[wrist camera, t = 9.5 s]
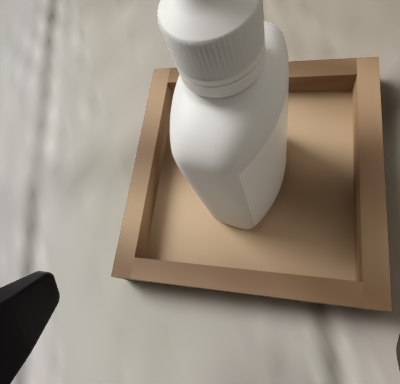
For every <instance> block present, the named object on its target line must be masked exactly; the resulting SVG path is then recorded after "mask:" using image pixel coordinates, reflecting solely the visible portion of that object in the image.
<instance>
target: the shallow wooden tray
mask: <svg viewBox="0 0 400 384" xmlns="http://www.w3.org/2000/svg"><path fill="white" fill-rule="evenodd" d="M179 75H180V74H179V72H178V70H177V68H164V69H154V73H153V77H152V82H151V87H150V92H149V97H148V101H147V106H146V111H145V116H144V121H143V125H142V130H141V135H140V140H139V145H138V149H137V154H136V159H135V164H134V169H133V174H132V178H131V183H130V188H129V193H128V198H127V202H126V207H125V212H124V217H123V222H122V226H121V231H120V236H119V241H118V246H117V250H116V255H115V260H114V265H113V270H112V275H111V276H112V277H117V278H122V279H127V280H135V281H143V282H151V283H159V284H167V285H175V286H182V287H190V288H198V289H206V290H214V291H222V292H230V293H238V294H246V295H254V296H261V297H269V298H277V299H285V300H293V301H301V302H309V303H317V304H325V305H333V306H340V307H348V308H356V309H364V310H372V311H380V312H392V301H391V282H390V263H389V244H388V226H387V207H386V188H385V169H384V150H383V131H382V113H381V94H380V75H379V57H365V58H347V59H328V60H310V61H292V62H289V88H288V121H287V151H286V166H285V173H284V178H283V182H282V185H281V188H280V191H279V193H278V195H277V197H276V199H275V201H274V203H273V205H272V206H271V208H270V210H269V211H268V212H267V214H266V215H265V216H264V218H263V219H262V220H261V221H260V222H259V223H258V224H257V225H256V226H255V227H253V228H251V229H242V228H238V227H235V226H231V225H228V224H225V223H222V222H219V221H218V220H216V219H215V218H214V217H213V216H212V215H211V213H210V212H209V211H208V209H207V208H206V206H205V205H204V204H203V202H202V201H201V200H200V198H199V197H198V195H197V194H196V193H195V191H194V190H193V188H192V187H191V185H190V184H189V183H188V181H187V180H186V178H185V177H184V175H183V174H182V172H181V171H180V169H179V167H178V166H177V164H176V162H175V159H174V157H173V155H172V151H171V143H170V113H171V105H172V99H173V95H174V90H175V87H176V83H177V80H178V77H179Z"/></svg>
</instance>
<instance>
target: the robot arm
mask: <svg viewBox="0 0 400 384" xmlns="http://www.w3.org/2000/svg"><path fill="white" fill-rule="evenodd" d="M59 298H60V295H59V291H58V288H57V285H56V281H55V278H54V276H53V274H52V273H50V272H43V271H37V272H35V273H32V274H30V275H28V276H26V277H23V278H21V279H19V280H17V281H15V282H12V283H10V284H8V285H6V286H4V287H1V288H0V384H10V383H11V382H12V380H13V379H14V377H15V376H16V374H17V373H18V371H19V370H20V368H21V367H22V365H23V364H24V362H25V361H26V359H27V358H28V356H29V355H30V353H31V351H32V350H33V348H34V346H35V344H36V343H37V341H38V339H39V337H40V335H41V333H42V332H43V330H44V328H45V326H46V324H47V323H48V321H49V319H50V317H51V315H52V313H53V312H54V310H55V308H56V306H57V304H58V302H59ZM396 352H397V360H398V365H399V370H400V335H399V339H398V342H397V348H396Z"/></svg>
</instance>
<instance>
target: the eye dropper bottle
mask: <svg viewBox="0 0 400 384" xmlns="http://www.w3.org/2000/svg"><path fill="white" fill-rule="evenodd" d="M157 14H158V15H157V19H158V24H159V27H160V30H161V32H162V34H163V37H164V39H165V41H166V44H167V46H168V48H169V51H170V53H171V55H172V58H173V60H174V63H175V65H176V67H177V70H178V72H179V74H180V75H179V77H178V80H177V83H176V87H175V90H174V95H173V99H172V105H171V113H170V143H171V151H172V155H173V157H174V159H175V162H176V164H177V166H178V167H179V169H180V171H181V172H182V174H183V175H184V177H185V178H186V180H187V181H188V183H189V184H190V185H191V187H192V188H193V190H194V191H195V193H196V194H197V195H198V197H199V198H200V200H201V201H202V202H203V204H204V205H205V206H206V208H207V209H208V211H209V212H210V213H211V215H212V216H213V217H214V218H215V219H216V220H218V221H219V222H222V223H225V224H228V225H231V226H235V227H238V228H242V229H251V228H253V227H255V226H256V225H257V224H258V223H259V222H260V221H261V220H262V219H263V218H264V216H265V215H266V214H267V212H268V211H269V210H270V208H271V206H272V205H273V203H274V201H275V199H276V197H277V195H278V193H279V191H280V188H281V185H282V182H283V178H284V173H285V166H286V151H287V121H288V88H289V62H288V51H287V46H286V42H285V39H284V36H283V33H282V32H281V31H280V29H279V28H278V27H277V26H276V25H274V24H272V23H269V22H267V21H264V14H263V0H160V3H159V7H158V12H157Z"/></svg>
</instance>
